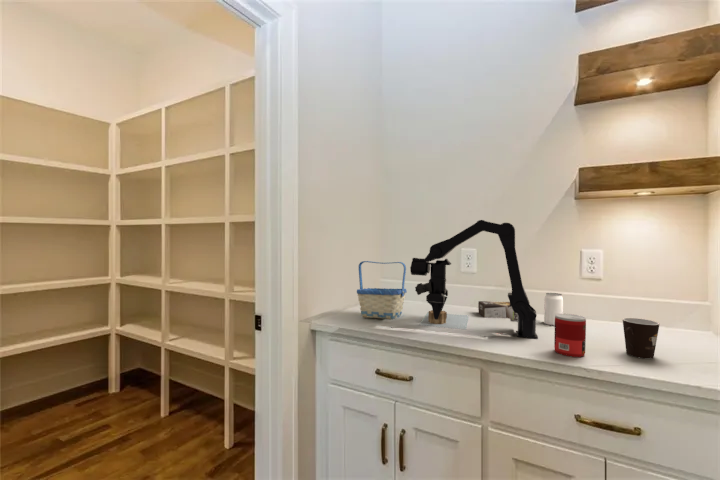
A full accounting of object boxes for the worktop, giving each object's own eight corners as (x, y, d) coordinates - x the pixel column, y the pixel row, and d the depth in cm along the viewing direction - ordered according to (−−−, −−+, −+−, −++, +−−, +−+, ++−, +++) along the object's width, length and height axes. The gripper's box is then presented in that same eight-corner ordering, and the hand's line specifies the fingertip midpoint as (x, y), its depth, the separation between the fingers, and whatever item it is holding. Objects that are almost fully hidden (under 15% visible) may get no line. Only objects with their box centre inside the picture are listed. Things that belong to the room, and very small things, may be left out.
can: (561, 327, 138) (561, 295, 138) (542, 324, 142) (543, 294, 142) (563, 323, 143) (564, 293, 143) (545, 321, 147) (546, 292, 147)
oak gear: (444, 324, 134) (445, 314, 134) (427, 323, 137) (427, 312, 137) (446, 321, 141) (446, 310, 141) (429, 319, 143) (429, 309, 143)
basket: (410, 316, 153) (411, 261, 153) (396, 324, 139) (396, 263, 139) (367, 311, 163) (367, 259, 163) (349, 318, 149) (349, 261, 148)
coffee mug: (642, 350, 111) (642, 317, 111) (666, 360, 102) (667, 324, 102) (605, 350, 110) (605, 317, 110) (626, 360, 102) (627, 324, 102)
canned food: (589, 358, 103) (590, 320, 103) (559, 356, 104) (559, 318, 104) (579, 350, 110) (579, 314, 110) (550, 348, 112) (551, 312, 112)
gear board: (466, 332, 128) (466, 321, 128) (418, 328, 134) (418, 316, 134) (468, 318, 151) (468, 308, 151) (427, 314, 157) (428, 305, 157)
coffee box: (524, 305, 147) (484, 304, 147) (524, 321, 147) (484, 320, 148) (515, 301, 156) (478, 300, 157) (515, 316, 156) (477, 315, 157)
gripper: (420, 273, 150) (420, 311, 150) (412, 277, 132) (412, 320, 132) (448, 274, 146) (447, 313, 146) (443, 279, 128) (443, 323, 128)
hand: (437, 317), depth 138 cm, fingers open, 8 cm apart
